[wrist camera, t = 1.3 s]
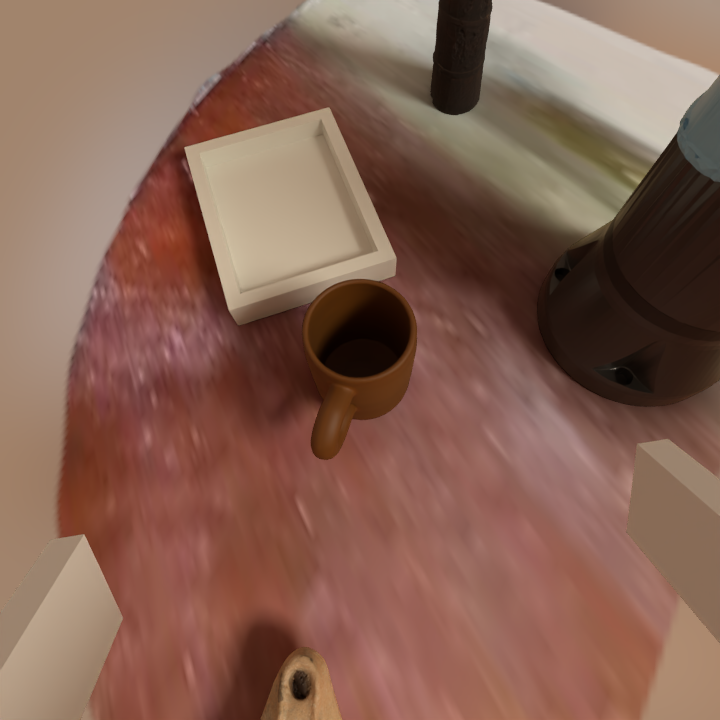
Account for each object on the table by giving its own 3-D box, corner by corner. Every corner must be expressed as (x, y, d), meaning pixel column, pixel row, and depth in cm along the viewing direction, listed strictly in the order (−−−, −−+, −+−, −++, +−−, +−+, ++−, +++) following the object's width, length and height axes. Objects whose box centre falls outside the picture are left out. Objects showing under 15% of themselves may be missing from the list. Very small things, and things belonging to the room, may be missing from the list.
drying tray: (331, 130, 49) (329, 107, 46) (395, 275, 42) (396, 257, 40) (194, 169, 47) (184, 147, 45) (238, 325, 41) (228, 310, 38)
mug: (378, 490, 35) (379, 471, 27) (283, 459, 37) (254, 432, 28) (419, 348, 40) (432, 292, 31) (333, 325, 41) (322, 263, 32)
